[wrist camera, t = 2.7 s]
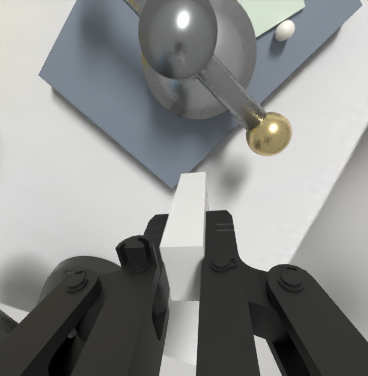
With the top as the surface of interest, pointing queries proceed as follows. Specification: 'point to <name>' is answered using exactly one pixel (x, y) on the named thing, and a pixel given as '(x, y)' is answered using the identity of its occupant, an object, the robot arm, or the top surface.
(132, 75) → the stand
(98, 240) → the top surface
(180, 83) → the grey lever with knob
